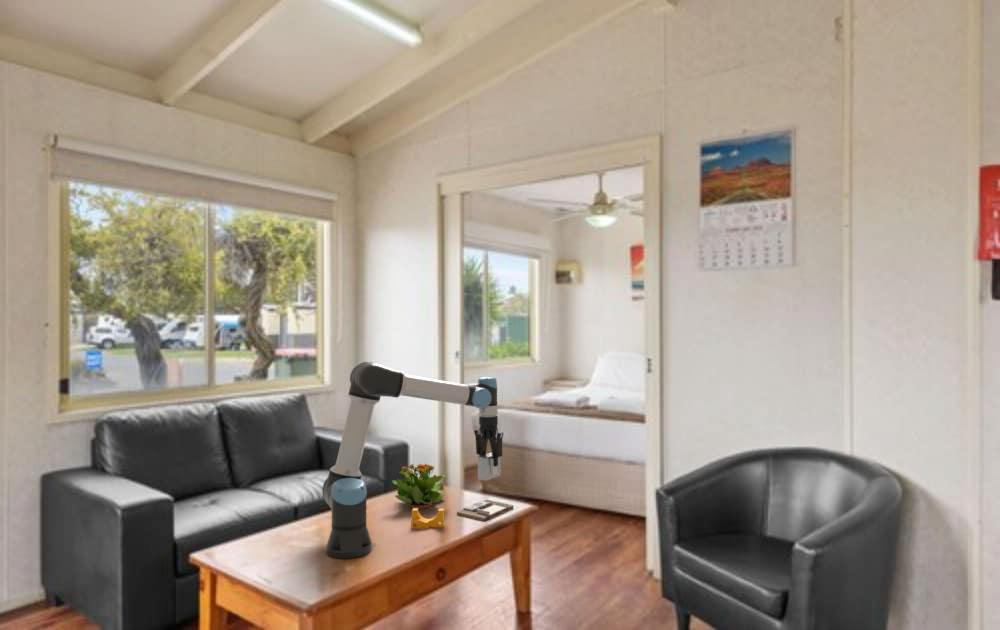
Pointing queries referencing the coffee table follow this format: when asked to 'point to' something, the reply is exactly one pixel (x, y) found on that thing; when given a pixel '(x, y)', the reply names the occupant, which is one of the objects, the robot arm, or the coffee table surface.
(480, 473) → the leaf block
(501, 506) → the leaf seat
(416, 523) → the pipe clamp
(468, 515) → the hinge board
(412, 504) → the potted flower
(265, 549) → the coffee table surface
